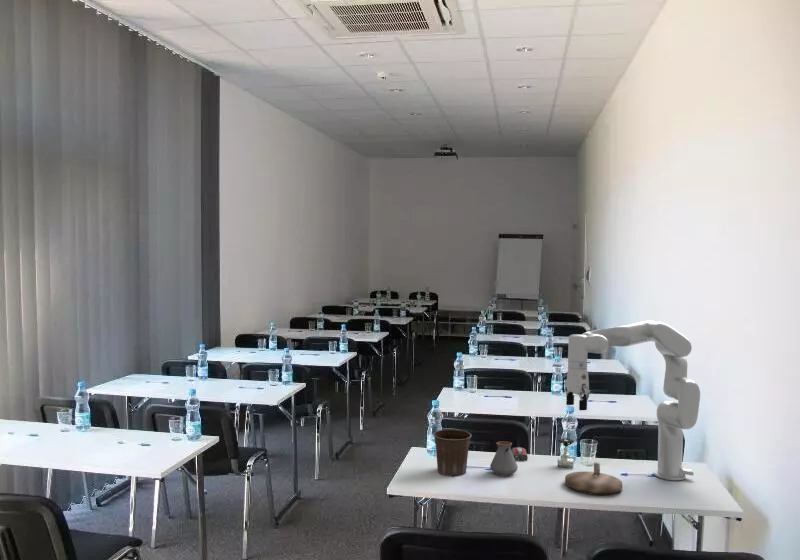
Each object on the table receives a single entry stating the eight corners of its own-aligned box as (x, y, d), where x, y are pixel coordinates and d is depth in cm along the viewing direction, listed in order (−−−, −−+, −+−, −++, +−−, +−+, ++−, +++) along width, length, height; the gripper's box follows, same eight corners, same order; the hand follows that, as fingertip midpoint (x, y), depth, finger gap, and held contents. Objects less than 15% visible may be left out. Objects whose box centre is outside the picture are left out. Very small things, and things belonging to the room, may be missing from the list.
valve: (573, 469, 283) (574, 442, 283) (557, 468, 285) (558, 441, 284) (572, 465, 290) (573, 438, 289) (557, 464, 291) (557, 437, 291)
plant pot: (463, 480, 267) (463, 441, 266) (426, 474, 274) (427, 436, 273) (476, 469, 281) (476, 432, 281) (441, 463, 288) (441, 427, 288)
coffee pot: (489, 468, 283) (490, 434, 283) (516, 469, 282) (516, 435, 282) (492, 485, 262) (493, 447, 261) (521, 486, 261) (522, 448, 261)
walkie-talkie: (506, 452, 309) (508, 465, 289) (507, 443, 309) (509, 455, 289) (525, 453, 308) (529, 466, 288) (525, 444, 308) (529, 456, 288)
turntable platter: (625, 480, 267) (625, 465, 267) (618, 497, 247) (619, 481, 247) (570, 472, 276) (570, 458, 276) (560, 487, 256) (560, 472, 256)
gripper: (597, 368, 257) (596, 411, 257) (574, 361, 273) (573, 402, 274) (580, 368, 254) (579, 412, 255) (558, 362, 271) (557, 403, 272)
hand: (576, 407), depth 264 cm, fingers open, 9 cm apart
